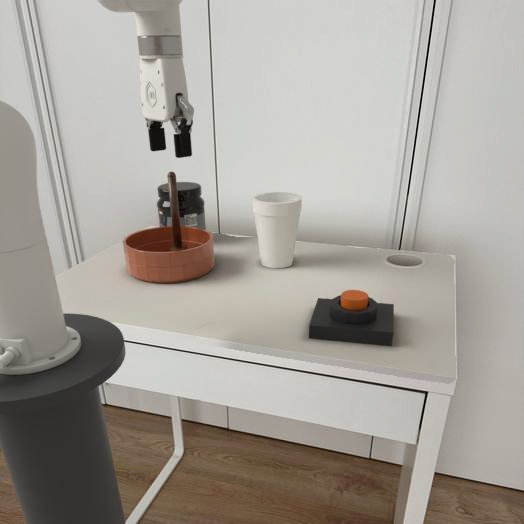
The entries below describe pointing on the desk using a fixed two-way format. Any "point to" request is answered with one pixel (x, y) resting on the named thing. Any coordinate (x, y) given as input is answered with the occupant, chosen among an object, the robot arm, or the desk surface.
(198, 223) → the supplement container
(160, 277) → the bowl
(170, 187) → the flanged wooden peg
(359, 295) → the timer button
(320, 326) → the black flat block
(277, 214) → the foam cup
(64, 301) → the desk surface
